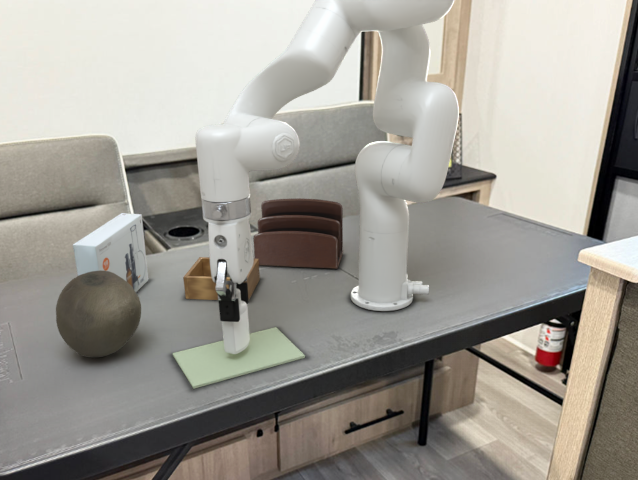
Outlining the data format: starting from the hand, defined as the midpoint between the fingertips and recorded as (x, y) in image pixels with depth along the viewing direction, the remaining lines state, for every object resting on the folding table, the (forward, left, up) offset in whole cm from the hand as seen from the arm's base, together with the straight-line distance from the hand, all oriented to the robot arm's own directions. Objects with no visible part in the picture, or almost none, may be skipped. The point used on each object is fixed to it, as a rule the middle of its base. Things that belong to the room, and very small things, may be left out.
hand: (234, 311), depth 101 cm
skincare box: (+31, -21, -9) cm, 39 cm away
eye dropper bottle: (0, 0, -7) cm, 7 cm away
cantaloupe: (+24, +1, -9) cm, 26 cm away
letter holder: (-4, -46, -9) cm, 47 cm away
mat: (0, 0, -9) cm, 9 cm away
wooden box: (+10, -28, -9) cm, 31 cm away
